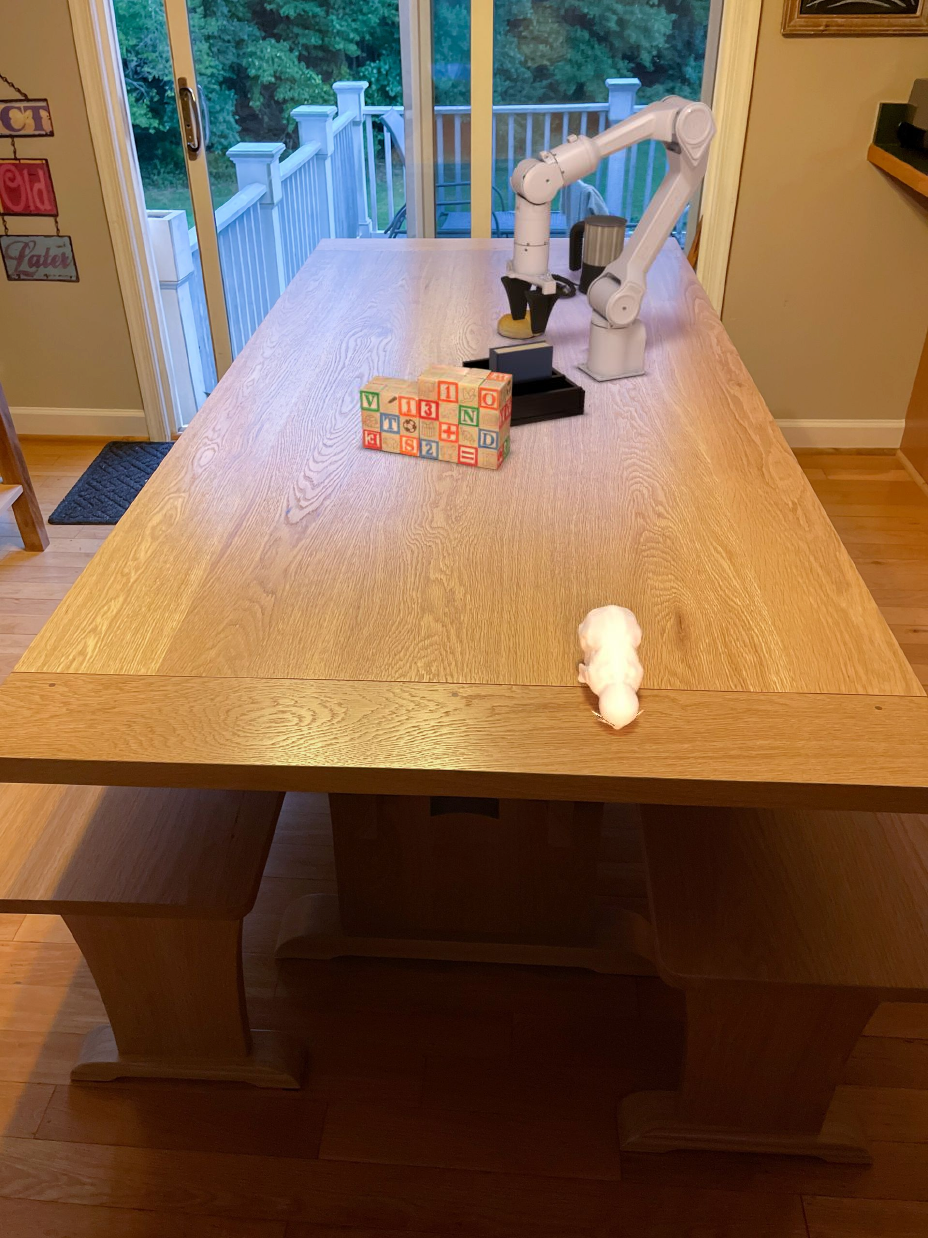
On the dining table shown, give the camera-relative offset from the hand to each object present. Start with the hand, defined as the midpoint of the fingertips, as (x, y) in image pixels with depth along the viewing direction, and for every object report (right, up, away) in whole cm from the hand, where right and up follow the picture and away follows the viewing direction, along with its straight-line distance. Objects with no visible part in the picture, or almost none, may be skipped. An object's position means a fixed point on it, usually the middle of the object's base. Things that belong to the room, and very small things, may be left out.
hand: (528, 325), depth 163 cm
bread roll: (0, +7, +26) cm, 27 cm away
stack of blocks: (-15, -24, -18) cm, 34 cm away
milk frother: (+15, +22, +48) cm, 55 cm away
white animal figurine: (+4, -58, -66) cm, 88 cm away
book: (-2, -12, -3) cm, 13 cm away
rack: (-2, -13, -2) cm, 13 cm away
